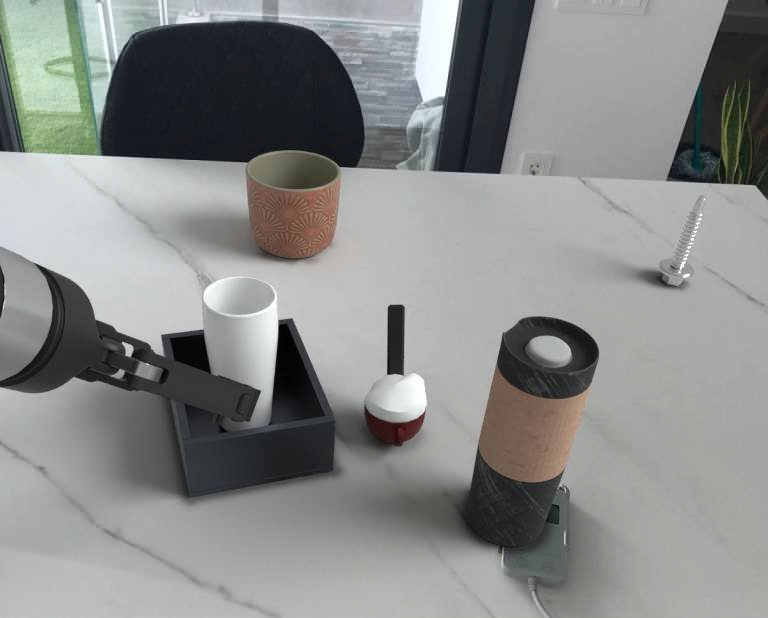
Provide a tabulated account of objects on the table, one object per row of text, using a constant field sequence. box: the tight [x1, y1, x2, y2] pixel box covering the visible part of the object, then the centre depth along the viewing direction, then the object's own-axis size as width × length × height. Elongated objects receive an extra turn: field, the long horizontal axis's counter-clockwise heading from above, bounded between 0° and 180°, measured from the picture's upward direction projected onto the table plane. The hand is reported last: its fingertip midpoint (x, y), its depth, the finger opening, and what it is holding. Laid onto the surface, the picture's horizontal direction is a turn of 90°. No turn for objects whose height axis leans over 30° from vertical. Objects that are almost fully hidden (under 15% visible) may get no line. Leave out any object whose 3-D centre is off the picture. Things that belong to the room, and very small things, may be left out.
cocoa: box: [363, 304, 428, 447], centre depth 76 cm, size 10×6×12 cm, turn 163°
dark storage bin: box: [160, 317, 337, 498], centre depth 76 cm, size 17×14×7 cm
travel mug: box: [466, 315, 600, 548], centre depth 65 cm, size 8×8×20 cm
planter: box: [244, 149, 342, 259], centre depth 104 cm, size 12×12×11 cm
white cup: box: [201, 275, 279, 432], centre depth 73 cm, size 7×7×15 cm
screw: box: [657, 194, 706, 287], centre depth 104 cm, size 13×5×5 cm
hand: (180, 378), depth 64 cm, fingers open, 13 cm apart
